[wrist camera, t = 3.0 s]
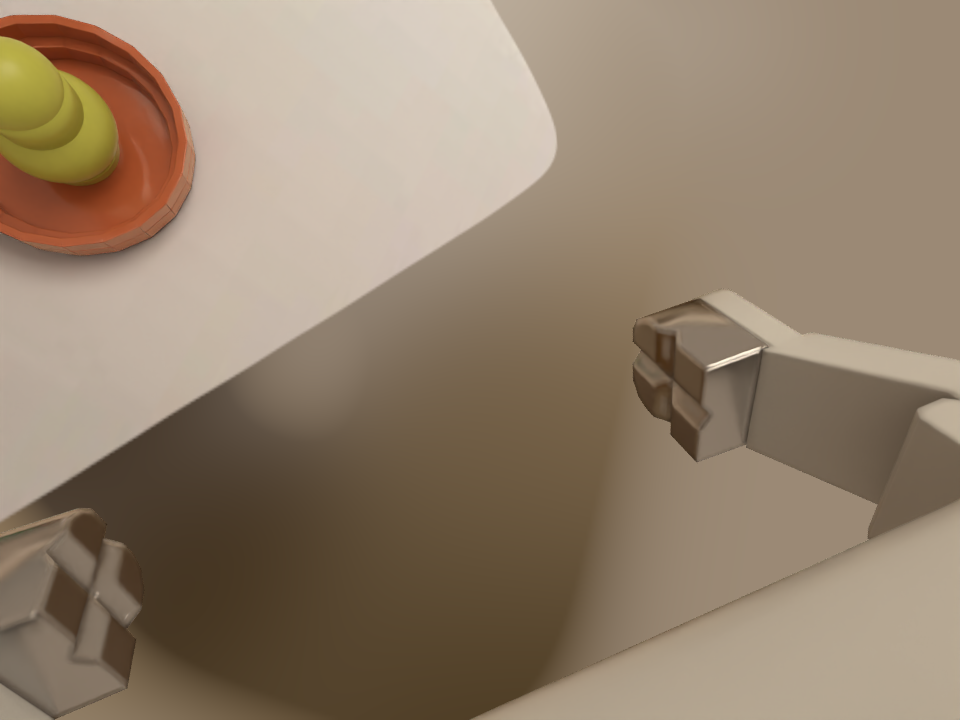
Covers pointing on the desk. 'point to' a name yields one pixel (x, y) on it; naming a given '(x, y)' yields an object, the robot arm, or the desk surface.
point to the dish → (141, 137)
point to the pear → (53, 120)
